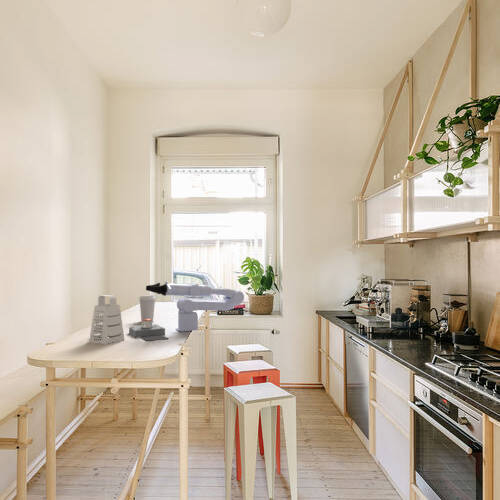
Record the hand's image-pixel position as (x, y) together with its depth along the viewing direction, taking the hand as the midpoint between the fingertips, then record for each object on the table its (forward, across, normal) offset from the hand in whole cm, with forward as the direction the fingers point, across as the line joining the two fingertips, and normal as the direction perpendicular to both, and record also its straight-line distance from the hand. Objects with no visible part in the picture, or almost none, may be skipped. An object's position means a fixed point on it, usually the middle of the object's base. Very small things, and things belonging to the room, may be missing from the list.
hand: (148, 288), depth 203 cm
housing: (-1, +1, +22) cm, 22 cm away
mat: (-1, +13, +21) cm, 25 cm away
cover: (-1, +1, +22) cm, 22 cm away
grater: (+19, +9, +23) cm, 32 cm away
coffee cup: (-12, -37, +22) cm, 44 cm away
